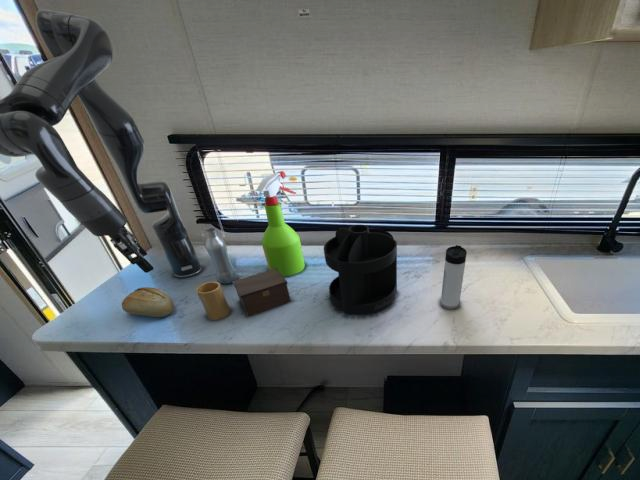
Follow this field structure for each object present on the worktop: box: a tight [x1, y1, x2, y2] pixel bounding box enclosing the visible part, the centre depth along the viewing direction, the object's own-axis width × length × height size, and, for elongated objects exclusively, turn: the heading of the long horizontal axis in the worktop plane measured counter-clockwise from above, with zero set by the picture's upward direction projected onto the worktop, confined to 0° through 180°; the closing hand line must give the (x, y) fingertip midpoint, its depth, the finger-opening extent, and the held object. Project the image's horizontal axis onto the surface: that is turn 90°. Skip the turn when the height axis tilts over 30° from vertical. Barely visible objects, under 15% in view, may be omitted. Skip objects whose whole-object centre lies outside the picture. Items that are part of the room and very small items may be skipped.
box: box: [231, 268, 291, 317], centre depth 103 cm, size 11×14×8 cm
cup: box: [195, 281, 231, 321], centre depth 97 cm, size 6×6×10 cm
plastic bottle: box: [203, 227, 238, 284], centre depth 110 cm, size 6×7×20 cm
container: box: [323, 224, 398, 316], centre depth 101 cm, size 22×23×25 cm
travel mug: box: [440, 244, 468, 310], centre depth 100 cm, size 6×7×20 cm
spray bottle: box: [255, 170, 306, 278], centre depth 116 cm, size 14×18×35 cm
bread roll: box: [121, 286, 175, 318], centre depth 98 cm, size 10×15×8 cm, turn 86°
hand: (146, 262), depth 83 cm, fingers open, 8 cm apart
